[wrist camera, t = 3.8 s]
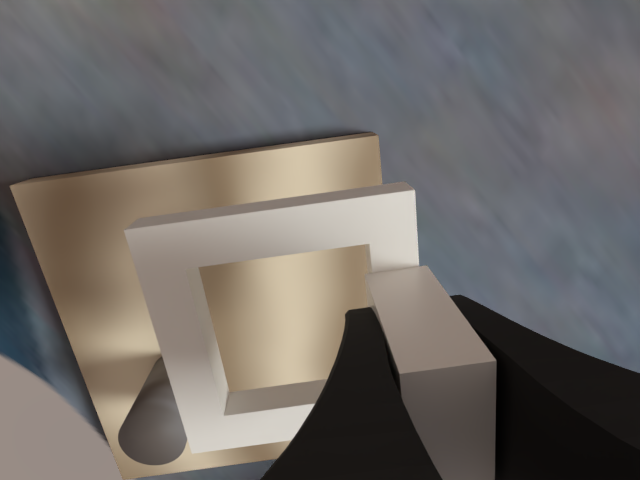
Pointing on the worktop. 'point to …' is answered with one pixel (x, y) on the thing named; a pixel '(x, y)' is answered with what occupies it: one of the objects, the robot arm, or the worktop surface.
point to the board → (218, 282)
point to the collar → (382, 295)
